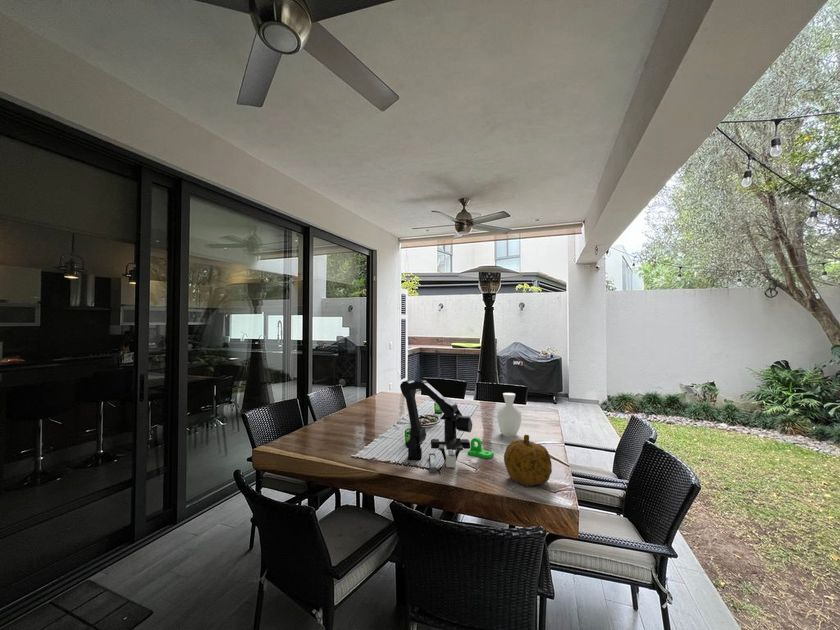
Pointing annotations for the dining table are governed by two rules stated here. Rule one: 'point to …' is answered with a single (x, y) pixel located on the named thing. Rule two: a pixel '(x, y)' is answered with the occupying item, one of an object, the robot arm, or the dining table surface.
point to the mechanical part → (479, 449)
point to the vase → (509, 416)
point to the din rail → (432, 463)
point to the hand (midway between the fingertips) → (450, 461)
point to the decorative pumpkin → (527, 462)
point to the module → (450, 458)
